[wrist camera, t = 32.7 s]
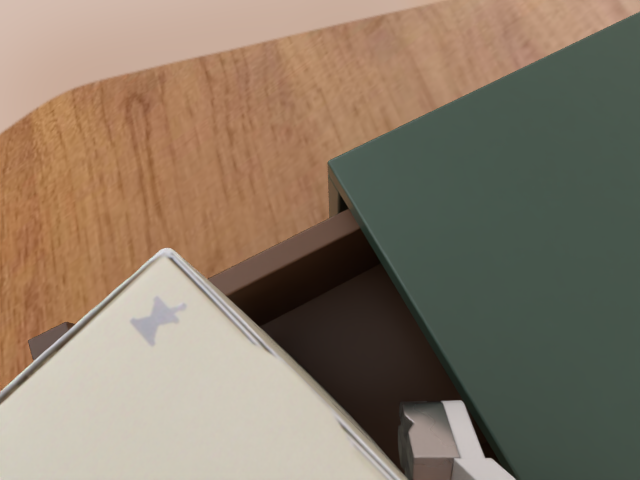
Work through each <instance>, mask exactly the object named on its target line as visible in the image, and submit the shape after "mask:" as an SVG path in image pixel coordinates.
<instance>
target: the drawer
mask: <svg viewBox="0 0 640 480" xmlns="http://www.w3.org/2000/svg"><path fill="white" fill-rule="evenodd" d="M207 280H209V281H210V282H211V283H212V284H213V285H214V286H215V287H216V288H217V289H219V290H220V291H221V292H222V293H223V294H224V295H225V296H226V297H228V298H229V299H230V300H231V301H232V302H233V303H234V304H235V305H236V306H237V307H238V308H240V309H241V310H242V311H243V312H244V313H245V314H246V315H247V316H248V317H249V318H250V319H251V320H252V321H254V322H255V323H256V324H257V325H258V326H259V327H260V328H261V329H263V330H264V331H265V332H266V333H267V334H268V335H269V336H270V337H272V338H273V339H274V340H275V341H276V342H277V343H278V344H279V345H280V346H281V347H282V348H283V349H285V350H286V351H287V352H288V353H289V354H290V355H291V356H292V357H293V358H294V359H295V360H296V361H297V362H298V363H299V364H300V365H301V366H302V367H303V368H304V369H305V370H306V371H307V372H308V373H309V374H310V375H311V376H312V377H313V378H314V379H315V380H316V381H317V382H318V383H319V384H320V385H322V386H323V387H324V388H325V389H326V390H327V391H328V393H329V394H330V395H331V396H332V397H333V398H334V399H335V400H336V401H337V402H338V403H339V404H340V405H341V406H342V407H343V408H344V409H345V410H346V411H347V412H348V413H349V414H350V415H351V416H352V417H353V419H354V420H355V421H356V422H357V423H358V424H359V425H360V426H361V427H362V428H363V429H364V430H365V431H366V432H367V433H368V434H369V436H370V437H371V438H372V439H373V440H374V441H375V442H376V444H377V445H378V446H379V447H380V448H381V449H382V451H383V452H384V453H385V454H386V455H387V456H388V457H389V458H390V460H391V461H392V462H393V463H394V464H395V465H396V466H397V467H398V469H399V470H400V471H401V472H402V473H403V474H404V475H405V471H404V470H403V469H402V468H401V464H400V458H399V450H398V426H399V425H400V424H401V422H400V416H399V406H400V402H415V401H440V402H441V401H455V400H461V401H462V402H463V403H464V401H463V399H462V398H461V396H460V394H459V393H458V391H457V389H456V388H455V386H454V384H453V383H452V381H451V379H450V378H449V376H448V374H447V373H446V371H445V369H444V368H443V366H442V364H441V363H440V361H439V359H438V358H437V356H436V354H435V352H434V351H433V349H432V347H431V346H430V344H429V342H428V341H427V339H426V337H425V336H424V334H423V332H422V331H421V329H420V327H419V326H418V324H417V322H416V321H415V319H414V317H413V316H412V314H411V312H410V311H409V309H408V307H407V305H406V304H405V302H404V300H403V299H402V297H401V295H400V294H399V292H398V290H397V289H396V287H395V285H394V284H393V282H392V280H391V279H390V277H389V275H388V274H387V272H386V270H385V269H384V267H383V265H382V264H381V262H380V260H379V258H378V257H377V255H376V253H375V252H374V250H373V248H372V247H371V245H370V243H369V242H368V240H367V238H366V237H365V235H364V233H363V232H362V230H361V228H360V227H359V225H358V223H357V222H356V220H355V218H354V216H353V215H352V213H351V211H350V210H349V209H347V210H345V211H343V212H341V213H339V214H337V215H335V216H333V217H331V218H329V219H327V220H325V221H323V222H321V223H319V224H317V225H315V226H313V227H311V228H309V229H307V230H305V231H303V232H301V233H299V234H297V235H295V236H293V237H291V238H289V239H287V240H285V241H283V242H281V243H279V244H277V245H275V246H273V247H271V248H269V249H267V250H265V251H263V252H261V253H259V254H257V255H255V256H253V257H251V258H249V259H247V260H245V261H243V262H241V263H239V264H237V265H235V266H233V267H231V268H229V269H227V270H225V271H223V272H221V273H219V274H217V275H215V276H213V277H211V278H209V279H207ZM74 325H75V324H73V323H69V322H64V323H62V324H60V325H58V326H56V327H54V328H52V329H50V330H48V331H46V332H44V333H42V334H40V335H38V336H36V337H34V338H32V339H30V340H28V343H29V347H30V350H31V354H32V357H33V361H34V360H36V359H37V358H38V357H39V356H40V355H41V354H42V353H43V352H44V351H46V350H47V349H48V348H49V347H50V346H52V345H53V344H54V343H55V342H56V341H57V340H58V339H59V338H60V337H62V336H63V335H64V334H65V333H66V332H68V331H69V330H70V329H71V328H72V327H73V326H74ZM464 404H465V403H464ZM465 407H466V409H467V412H468V415H469V417H470V420H471V422H472V425H473V428H474V430H475V433H476V435H477V438H478V441H479V443H480V446H481V448H482V451H483V454H484V456H485V458H492V459H493V460H494V461H495V462H497V463H498V464H499V465H500V466H501V467H502V465H501V463H500V462H499V460H498V458H497V457H496V455H495V453H494V452H493V450H492V448H491V447H490V445H489V443H488V441H487V440H486V438H485V436H484V435H483V433H482V431H481V430H480V428H479V426H478V425H477V423H476V421H475V420H474V418H473V416H472V415H471V413H470V411H469V410H468V408H467V406H466V405H465ZM502 468H503V467H502Z"/></svg>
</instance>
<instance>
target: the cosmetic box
mask: <svg viewBox="0 0 640 480" xmlns="http://www.w3.org/2000/svg"><path fill="white" fill-rule="evenodd" d="M0 480H408V479H407V478H406V476H405V475H404V474H403V473H402V472H401V471H400V470H399V469H398V467H397V466H396V465H395V464H394V463H393V462H392V461H391V460H390V458H389V457H388V456H387V455H386V454H385V453H384V452H383V451H382V449H381V448H380V447H379V446H378V445H377V444H376V442H375V441H374V440H373V439H372V438H371V437H370V436H369V434H368V433H367V432H366V431H365V430H364V429H363V428H362V427H361V426H360V425H359V424H358V423H357V422H356V421H355V420H354V419H353V417H352V416H351V415H350V414H349V413H348V412H347V411H346V410H345V409H344V408H343V407H342V406H341V405H340V404H339V403H338V402H337V401H336V400H335V399H334V398H333V397H332V396H331V395H330V394H329V393H328V391H327V390H326V389H325V388H324V387H323V386H322V385H320V384H319V383H318V382H317V381H316V380H315V379H314V378H313V377H312V376H311V375H310V374H309V373H308V372H307V371H306V370H305V369H304V368H303V367H302V366H301V365H300V364H299V363H298V362H297V361H296V360H295V359H294V358H293V357H292V356H291V355H290V354H289V353H288V352H287V351H286V350H285V349H283V348H282V347H281V346H280V345H279V344H278V343H277V342H276V341H275V340H274V339H273V338H272V337H270V336H269V335H268V334H267V333H266V332H265V331H264V330H263V329H261V328H260V327H259V326H258V325H257V324H256V323H255V322H254V321H252V320H251V319H250V318H249V317H248V316H247V315H246V314H245V313H244V312H243V311H242V310H241V309H240V308H238V307H237V306H236V305H235V304H234V303H233V302H232V301H231V300H230V299H229V298H228V297H226V296H225V295H224V294H223V293H222V292H221V291H220V290H219V289H217V288H216V287H215V286H214V285H213V284H212V283H211V282H210V281H209V280H207V279H206V278H205V277H204V276H203V275H202V274H201V273H200V272H198V271H197V270H196V269H195V268H194V267H193V266H192V265H190V264H189V263H188V262H187V261H186V260H185V259H184V258H182V257H181V256H180V255H179V254H178V253H177V252H176V251H175V250H173V249H171V248H164V249H161V250H160V251H159V252H157V253H156V254H155V255H154V256H153V257H152V258H151V259H149V260H148V261H147V262H146V263H145V264H144V265H143V266H142V267H141V268H140V269H139V270H138V271H136V272H135V273H134V274H133V275H132V276H131V277H129V278H128V279H127V280H126V281H124V282H123V283H122V284H121V285H119V286H118V287H117V288H116V289H115V290H114V291H112V292H111V293H110V294H109V295H108V296H107V297H106V298H105V299H104V300H103V301H102V302H101V303H99V304H98V305H97V306H96V307H95V308H93V309H92V310H91V311H90V312H89V313H87V314H86V315H85V316H84V317H83V318H82V319H81V320H79V321H78V322H77V323H76V324H75V325H74V326H73V327H72V328H71V329H70V330H69V331H68V332H66V333H65V334H64V335H63V336H62V337H60V338H59V339H58V340H57V341H56V342H55V343H54V344H53V345H52V346H50V347H49V348H48V349H47V350H46V351H44V352H43V353H42V354H41V355H40V356H39V357H38V358H37V359H36V360H34V361H33V362H32V363H31V364H30V365H29V366H28V367H27V368H26V369H25V370H23V371H22V372H21V373H20V374H19V375H18V376H17V377H16V378H15V379H14V380H12V381H11V382H10V383H9V384H8V385H7V386H6V387H5V388H4V389H3V390H2V391H1V392H0Z"/></svg>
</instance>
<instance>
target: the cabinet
mask: <svg viewBox="0 0 640 480" xmlns="http://www.w3.org/2000/svg"><path fill="white" fill-rule="evenodd" d="M328 189H329V218H331V217H333V216H335V215H337V214H339V213H341V212H343V211H345V210H347V209H349V210H350V211H351V213H352V215H353V216H354V218H355V220H356V222H357V223H358V225H359V227H360V228H361V230H362V232H363V233H364V235H365V237H366V238H367V240H368V242H369V243H370V245H371V247H372V248H373V250H374V252H375V253H376V255H377V257H378V258H379V260H380V262H381V264H382V265H383V267H384V269H385V270H386V272H387V274H388V275H389V277H390V279H391V280H392V282H393V284H394V285H395V287H396V289H397V290H398V292H399V294H400V295H401V297H402V299H403V300H404V302H405V304H406V305H407V307H408V309H409V311H410V312H411V314H412V316H413V317H414V319H415V321H416V322H417V324H418V326H419V327H420V329H421V331H422V332H423V334H424V336H425V337H426V339H427V341H428V342H429V344H430V346H431V347H432V349H433V351H434V352H435V354H436V356H437V358H438V359H439V361H440V363H441V364H442V366H443V368H444V369H445V371H446V373H447V374H448V376H449V378H450V379H451V381H452V383H453V384H454V386H455V388H456V389H457V391H458V393H459V394H460V396H461V398H462V399H463V401H464V403H465V405H466V406H467V408H468V410H469V411H470V413H471V415H472V416H473V418H474V420H475V421H476V423H477V425H478V426H479V428H480V430H481V431H482V433H483V435H484V436H485V438H486V440H487V441H488V443H489V445H490V447H491V448H492V450H493V452H494V453H495V455H496V457H497V458H498V460H499V462H500V463H501V465H502V467H503V468H504V469H505V470H506V471H507V472H508V473H509V474H510V475H512V476H513V477H514V478H515V479H516V480H640V12H638V13H636V14H634V15H632V16H630V17H628V18H626V19H624V20H621V21H619V22H617V23H615V24H613V25H611V26H609V27H607V28H605V29H603V30H601V31H599V32H596V33H594V34H592V35H590V36H588V37H586V38H584V39H582V40H580V41H578V42H576V43H573V44H571V45H569V46H567V47H565V48H563V49H561V50H559V51H557V52H555V53H553V54H550V55H548V56H546V57H544V58H542V59H540V60H538V61H536V62H534V63H532V64H530V65H528V66H525V67H523V68H521V69H519V70H517V71H515V72H513V73H511V74H509V75H507V76H505V77H502V78H500V79H498V80H496V81H494V82H492V83H490V84H488V85H486V86H484V87H482V88H480V89H477V90H475V91H473V92H471V93H469V94H467V95H465V96H463V97H461V98H459V99H457V100H454V101H452V102H450V103H448V104H446V105H444V106H442V107H440V108H438V109H436V110H434V111H432V112H429V113H427V114H425V115H423V116H421V117H419V118H417V119H415V120H413V121H411V122H409V123H406V124H404V125H402V126H400V127H398V128H396V129H394V130H392V131H390V132H388V133H386V134H384V135H381V136H379V137H377V138H375V139H373V140H371V141H369V142H367V143H365V144H363V145H361V146H358V147H356V148H354V149H352V150H350V151H348V152H346V153H344V154H342V155H340V156H338V157H336V158H333V159H331V160H329V161H328Z"/></svg>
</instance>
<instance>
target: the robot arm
mask: <svg viewBox="0 0 640 480" xmlns="http://www.w3.org/2000/svg"><path fill="white" fill-rule="evenodd" d="M399 416H400V422H401V424H400V425H399V426H398V450H399V458H400V464H401V468H402V469H403V470H404V471H405V476H406V478H407V479H408V480H516V479H515V478H514V477H513V476H512V475H510V474H509V473H508V472H507V471H506V470H505V469H504V468H502V467H501V466H500V465H499V464H498V463H497V462H495V461H494V460H493V459H492V458H485V456H484V454H483V451H482V448H481V446H480V443H479V441H478V438H477V435H476V433H475V430H474V428H473V425H472V422H471V420H470V417H469V415H468V412H467V409H466V407H465V404H464V403H463V402H462V401H461V400H455V401H441V402H440V401H415V402H400V406H399Z"/></svg>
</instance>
